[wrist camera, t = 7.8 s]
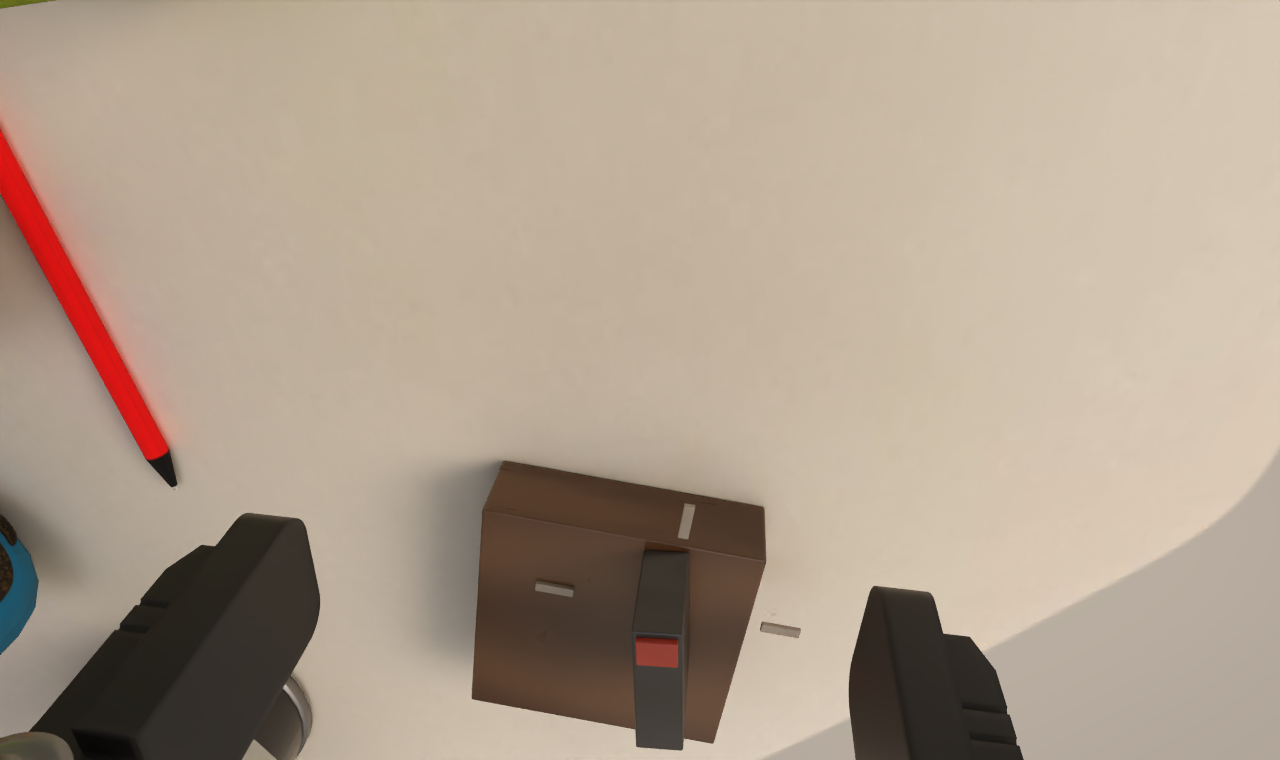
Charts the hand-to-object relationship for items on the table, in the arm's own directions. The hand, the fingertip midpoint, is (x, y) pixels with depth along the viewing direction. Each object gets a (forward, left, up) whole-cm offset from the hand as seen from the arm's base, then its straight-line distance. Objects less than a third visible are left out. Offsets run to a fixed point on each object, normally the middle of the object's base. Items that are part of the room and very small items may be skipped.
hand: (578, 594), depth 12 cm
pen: (-6, +21, -17) cm, 27 cm away
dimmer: (-15, -1, -17) cm, 22 cm away
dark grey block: (-14, -2, -14) cm, 19 cm away
